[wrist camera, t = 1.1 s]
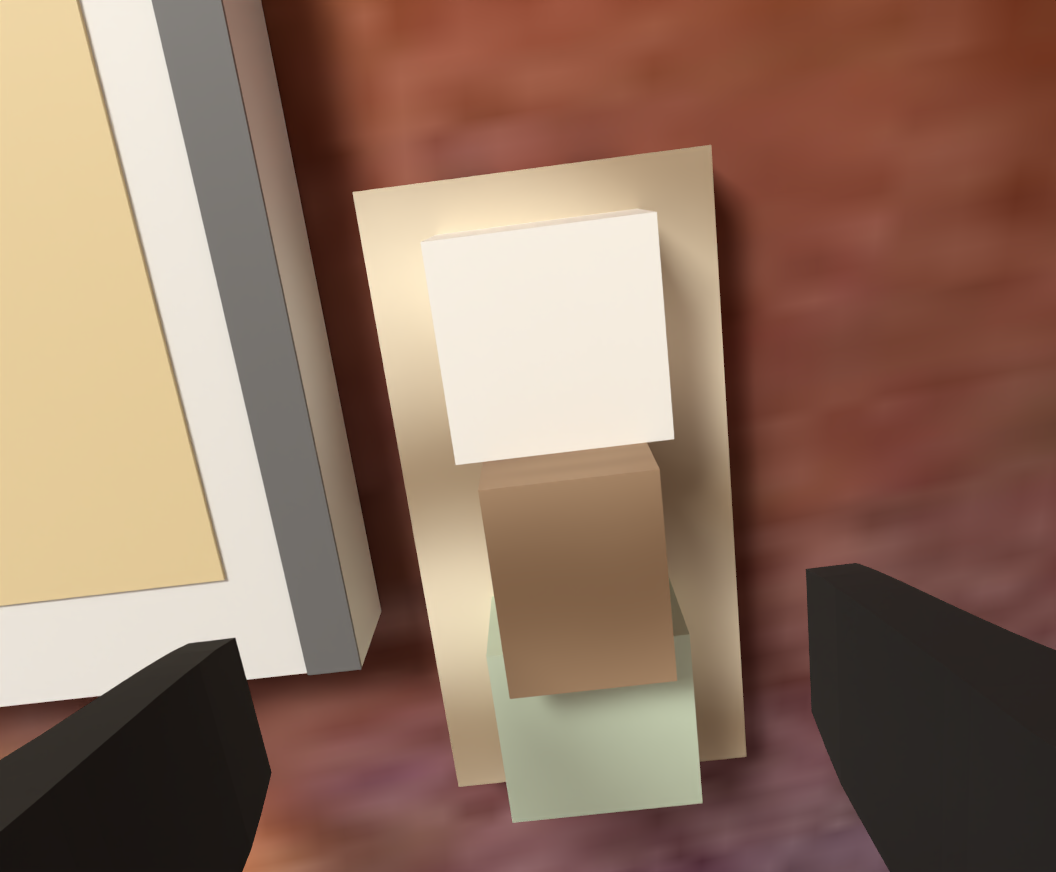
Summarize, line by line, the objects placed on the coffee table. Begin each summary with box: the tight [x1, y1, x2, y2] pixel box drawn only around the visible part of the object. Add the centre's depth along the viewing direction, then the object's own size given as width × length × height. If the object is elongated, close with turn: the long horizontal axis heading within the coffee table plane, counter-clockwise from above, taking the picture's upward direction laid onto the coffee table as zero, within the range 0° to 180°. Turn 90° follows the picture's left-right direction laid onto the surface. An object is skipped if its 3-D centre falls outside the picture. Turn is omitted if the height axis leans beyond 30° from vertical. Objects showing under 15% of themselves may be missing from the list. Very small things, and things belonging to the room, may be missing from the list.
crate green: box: [486, 579, 703, 823], centre depth 18 cm, size 4×4×2 cm
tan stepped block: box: [353, 145, 746, 787], centre depth 17 cm, size 14×7×6 cm, turn 7°
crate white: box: [420, 209, 674, 465], centre depth 16 cm, size 4×4×2 cm
